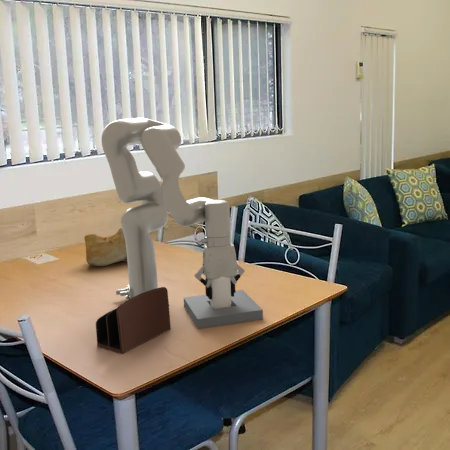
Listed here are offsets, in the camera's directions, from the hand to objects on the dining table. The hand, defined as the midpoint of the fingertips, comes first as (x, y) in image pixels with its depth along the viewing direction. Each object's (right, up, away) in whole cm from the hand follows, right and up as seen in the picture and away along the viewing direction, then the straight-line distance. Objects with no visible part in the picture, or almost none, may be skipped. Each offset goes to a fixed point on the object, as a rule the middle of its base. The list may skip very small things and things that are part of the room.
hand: (220, 296), depth 180 cm
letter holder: (-24, -10, -15) cm, 30 cm away
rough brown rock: (-46, +7, +65) cm, 80 cm away
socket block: (0, -5, +1) cm, 5 cm away
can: (0, -4, +1) cm, 4 cm away
